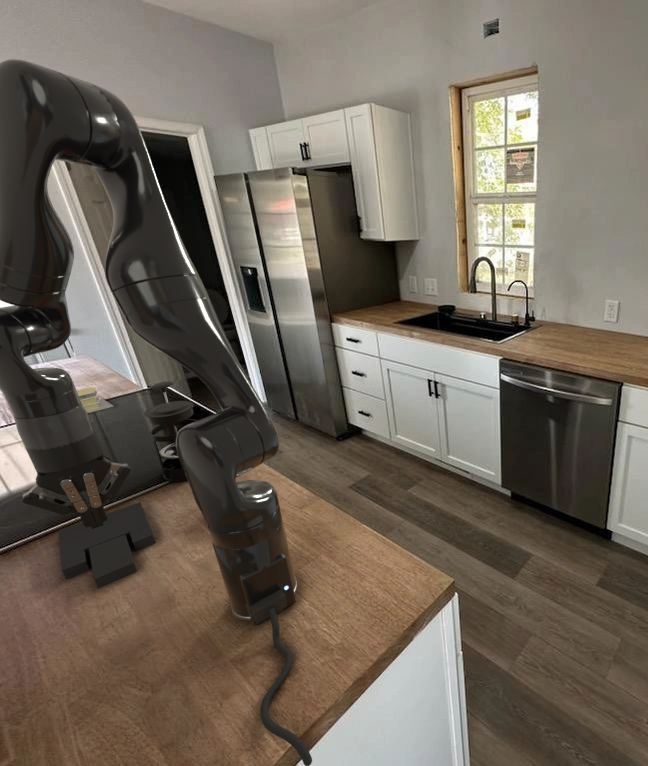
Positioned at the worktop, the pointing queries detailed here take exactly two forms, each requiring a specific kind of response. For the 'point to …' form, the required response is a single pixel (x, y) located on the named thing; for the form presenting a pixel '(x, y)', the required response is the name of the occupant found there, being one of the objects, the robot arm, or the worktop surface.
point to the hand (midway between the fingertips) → (97, 524)
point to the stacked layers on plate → (92, 400)
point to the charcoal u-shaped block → (102, 537)
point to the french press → (169, 431)
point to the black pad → (111, 561)
